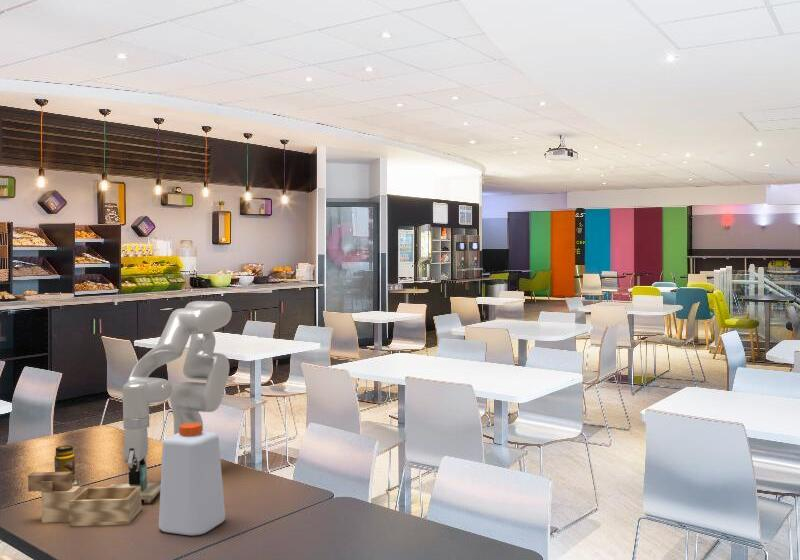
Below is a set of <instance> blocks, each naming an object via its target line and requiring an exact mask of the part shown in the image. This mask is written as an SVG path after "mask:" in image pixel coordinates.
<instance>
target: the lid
mask: <svg viewBox="0 0 800 560" xmlns="http://www.w3.org/2000/svg"><path fill="white" fill-rule="evenodd" d="M139 471H140V484H139V485H129V483H111V485H109V486H108V487H129V486H141V500H143V503H144V504H150V503H151V502H152V501H153V500H154V499H155V497H156V496H157V495H158V494H160V488H161V482H151V483H150V482H148V477H147V476H148V475H147V474H148V472H147V464H146V465H139Z"/></svg>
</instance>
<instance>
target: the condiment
mask: <svg viewBox="0 0 800 560" xmlns="http://www.w3.org/2000/svg"><path fill="white" fill-rule="evenodd" d="M75 464H76V463H75V454H74V446H73V445H61V446H57V447H56V448H55V455H54V472H72V486H73V485H77V484H78V482H77V480H76V465H75Z"/></svg>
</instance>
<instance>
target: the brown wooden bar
mask: <svg viewBox="0 0 800 560" xmlns="http://www.w3.org/2000/svg"><path fill="white" fill-rule="evenodd" d="M42 481H53V491H68V490H69V489H71V488H72V486H73V485H72V472H55V471H42V472H41V471H40V472H31V473H30V474H28V475H27V488H28V489H27V492H41V482H42Z"/></svg>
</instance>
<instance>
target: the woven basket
mask: <svg viewBox="0 0 800 560" xmlns="http://www.w3.org/2000/svg"><path fill="white" fill-rule="evenodd" d="M40 492H41V493H40V495H41V497H40V499H41V500H40V501H41V523H69V527H88V526H89V527H91V526H95V527H97V526H125V525H127V526H128V525H130V524H131V523H132V522H133V520H134V519H136V517H137V515H139V514H140V512H142V499H141V486H129V487H109V486H102V487H100V486H98V487H97V486H93V487H92V486H91V487H85V488H83V489H82V486H79V485H78V486H77V485H75V486H73V485H72V488H71V489H69V490H68V491H53V481H42V482H41V491H40Z"/></svg>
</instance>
